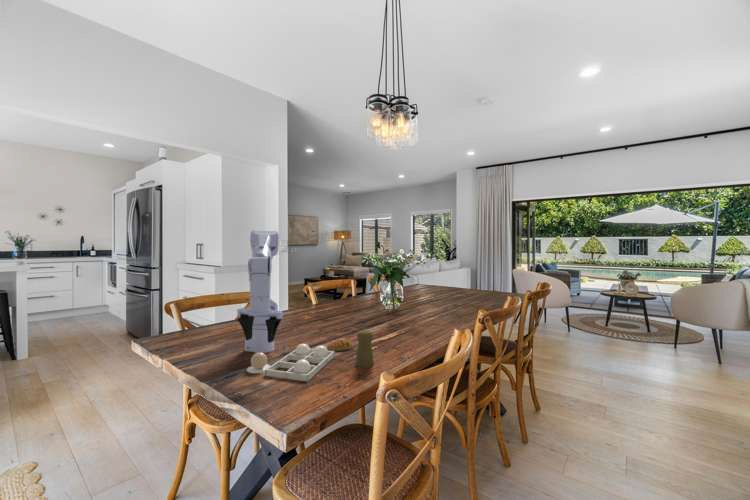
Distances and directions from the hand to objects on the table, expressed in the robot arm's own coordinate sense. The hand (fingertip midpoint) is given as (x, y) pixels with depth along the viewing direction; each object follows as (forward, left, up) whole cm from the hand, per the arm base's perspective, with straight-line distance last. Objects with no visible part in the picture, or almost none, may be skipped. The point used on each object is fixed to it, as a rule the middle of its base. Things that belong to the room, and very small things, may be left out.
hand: (259, 340), depth 98 cm
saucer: (0, 0, -9) cm, 9 cm away
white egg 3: (+15, +12, -9) cm, 21 cm away
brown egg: (0, 0, -9) cm, 9 cm away
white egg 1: (+8, +12, -9) cm, 17 cm away
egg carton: (+11, +6, -9) cm, 16 cm away
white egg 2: (+15, -1, -9) cm, 17 cm away
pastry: (+17, +26, -10) cm, 32 cm away
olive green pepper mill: (+29, +14, -10) cm, 34 cm away
